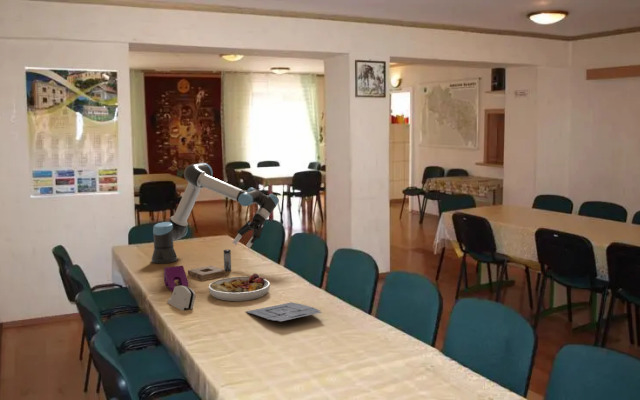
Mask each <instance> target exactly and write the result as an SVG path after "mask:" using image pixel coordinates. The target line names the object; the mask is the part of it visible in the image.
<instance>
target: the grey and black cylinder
mask: <svg viewBox="0 0 640 400" xmlns="http://www.w3.org/2000/svg"><path fill="white" fill-rule="evenodd" d="M231 250H232V249H224V250H223V270H225V272H231V271H232V255H231V253H232V251H231Z"/></svg>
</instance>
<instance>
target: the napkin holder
mask: <svg viewBox="0 0 640 400" xmlns="http://www.w3.org/2000/svg"><path fill="white" fill-rule="evenodd" d="M195 301H196V292H195V291H194V290H193V289H192V288H191V287H189V286H188V287H186V286H182V285H176V286H175V287H174V290H173V292H172V293H171V296H170V297H169V298H168V299H167V304H169V305H171V306H172V307H175V308H176V309H178V310H180V311H182V312H184V311H185V309H190V310H193V309H194V305H195Z"/></svg>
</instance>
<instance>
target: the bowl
mask: <svg viewBox="0 0 640 400" xmlns="http://www.w3.org/2000/svg"><path fill="white" fill-rule="evenodd" d="M270 286H271V285H270V281H269V280H267V279H265V278H264V277H262V276H260V275H259V274H258V273H252V274H251V275H250V276H232V277H231V276H230V277H225V278H222V279H217V280H214V281H212V282H211V283H209V285H208V291H209V293H210V295H211V296H212V297H213V298H215V299H218V300H222V301H226V302H245V301H246V302H247V301H251V300H255V299H259V298H262V297H263V296H265V295H266V294H267V293H268V292H269V290H270Z"/></svg>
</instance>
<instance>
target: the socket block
mask: <svg viewBox="0 0 640 400" xmlns="http://www.w3.org/2000/svg"><path fill="white" fill-rule="evenodd" d="M187 276H188V277H191V278H194V279H197V280H199V281H206V280H211V279H215V278H221V277H224V276H226V271H225V270H224V268H223V269H222V268H220V267H216V266H214V265H208V266H204V267H203V266H202V267H198V268H193V269H192V268H191V269H187Z"/></svg>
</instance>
